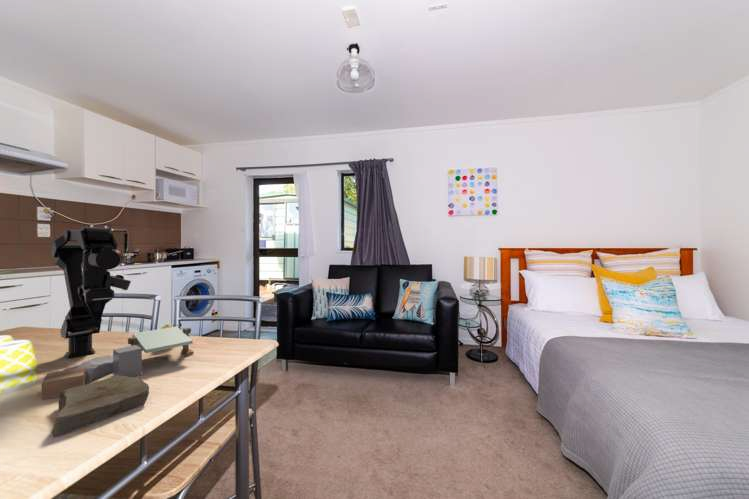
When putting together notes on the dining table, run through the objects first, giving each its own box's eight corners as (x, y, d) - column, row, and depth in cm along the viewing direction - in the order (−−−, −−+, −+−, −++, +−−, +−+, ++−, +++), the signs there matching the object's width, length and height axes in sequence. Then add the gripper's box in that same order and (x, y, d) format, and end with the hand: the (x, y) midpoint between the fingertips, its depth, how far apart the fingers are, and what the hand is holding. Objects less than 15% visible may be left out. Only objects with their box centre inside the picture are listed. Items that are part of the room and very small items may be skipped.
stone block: (56, 389, 81) (92, 382, 81) (53, 370, 82) (89, 363, 81) (98, 372, 93) (130, 366, 93) (96, 356, 94) (127, 350, 93)
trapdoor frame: (125, 364, 93) (125, 336, 93) (187, 351, 106) (188, 326, 106) (129, 369, 90) (129, 340, 90) (193, 354, 103) (193, 328, 103)
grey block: (113, 376, 85) (113, 349, 85) (135, 371, 89) (135, 344, 89) (118, 381, 82) (118, 353, 82) (141, 375, 86) (141, 348, 86)
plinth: (47, 389, 77) (47, 373, 77) (85, 381, 81) (85, 366, 81) (41, 400, 72) (41, 382, 72) (83, 391, 76) (83, 375, 76)
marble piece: (54, 440, 57) (54, 417, 57) (36, 416, 66) (35, 396, 66) (157, 403, 71) (157, 384, 71) (131, 387, 79) (131, 370, 79)
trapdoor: (132, 348, 98) (132, 333, 97) (175, 340, 107) (176, 326, 106) (145, 366, 88) (145, 349, 88) (191, 356, 97) (192, 340, 97)
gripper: (135, 268, 95) (135, 319, 95) (122, 266, 108) (121, 311, 108) (86, 270, 87) (86, 326, 87) (77, 267, 99) (77, 316, 99)
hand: (95, 319), depth 96 cm, fingers open, 9 cm apart
